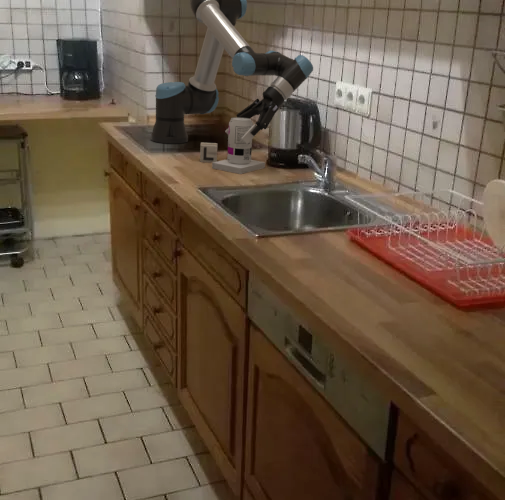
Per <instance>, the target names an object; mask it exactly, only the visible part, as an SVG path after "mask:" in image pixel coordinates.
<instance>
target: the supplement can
mask: <svg viewBox="0 0 505 500" xmlns="http://www.w3.org/2000/svg"><path fill="white" fill-rule="evenodd" d="M253 125H254V123H253V120H252V119H251V118H250V119H249V118H237V117H231V118H230V120H229V122H228V128H229V134H227V137H228V138H227V140H228V141H227V160H228V161H229V162H230V163H233V164H248V163H249V162H250V161H251V160H252V153H253V151H252V148H253V138H252V139H251V140H250V142H249V143H248V144H246V143H245V142H244V141H243V139H242V137H243V136H244V135H245V134H246V133H247V132H248V130H249V129H250V128H251V127H252V126H253Z"/></svg>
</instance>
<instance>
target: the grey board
mask: <svg viewBox="0 0 505 500" xmlns="http://www.w3.org/2000/svg"><path fill="white" fill-rule="evenodd" d="M265 167H266V162H264V161H259V160H255V159H251V161H250V162H249V163H248V164H233V163H230V162H229V161H228V160H227V159H222V160H217V162H213V163H212V164H211V169H212V170H213V169H214V170H219V171H224V172H228V173H234V174H238V175H242V174H246V173H249V172H255V171H258V170H262V169H265Z"/></svg>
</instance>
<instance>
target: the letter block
mask: <svg viewBox="0 0 505 500" xmlns="http://www.w3.org/2000/svg"><path fill="white" fill-rule="evenodd" d="M199 149H200V150H199V152H200V153H199V154H200V155H199V162H200V163H210V164H211V163H213V162H217V161H218V143H216V142H200V148H199Z"/></svg>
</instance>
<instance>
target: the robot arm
mask: <svg viewBox="0 0 505 500" xmlns="http://www.w3.org/2000/svg"><path fill="white" fill-rule="evenodd" d="M189 5H190V9H191V11H192V14H193V15H194V17H195V18H196V20H197V21H198V22H199V23H202V24H204V25H205V26H206V32H205V36H204V39H203V41H202V42H203V43H202V46H201V50H200V54H199V56H198V59H197V60H198V61H197V64H196V69H195V72H194V75H193V76H191V77H189V80H188V83H187V85H186V84H185V83H184V82H183V81H170V82H168V81H167V82H164V83H160V84H158V85H157V86H156V89H155V90H156V91H155V122H154V125H153V128H152V132H151V134H150V140H151V142H156V143H159V144H172V145H173V144H184V143H188V141H189V135H188V133H187V130H186V129H187V128H186V124H185V115H205V114H210V113H212V112H214V111H215V110H216V109H217V107H218V105H219V99H220V97H219V95H220V94H219V91H218V89H217V85H216V83H215V80H216V77H217V74H218V71H219V68H220V64H221V61H222V58H223V53H224V51H225V52H227V54H228V55H229V57H230V58H231V59H232V60H231V66H232V68H233V71H234V73H235V74H236V75H239V76H245V77H249V76H251V77H252V76H274V77H275V76H276V78H275V79H274V80H273V81H272V82H271V83H270V86H267V88H265V90H263V92H262V97H263V98H262V99H261V100H260V99H259V98H255V100H254V101H253V102H252V103H250V104H249V105H248V106H247V107H245V108H244V109H242V110H241V111H240V112H238V113H237V114H236V115H235V116H236V118H249V119H251V118H253V117H255V116H258V119H257V121H255V123H253V126H252V127H251V128H250V129H249V130H248V132H247V133H246V134H245V135H244V136H243V137H242V139H243V141H244V142H245V143H246V144H248V143H249V142H250V140H251V139H252V140H253V139H254V137H255V136H256V135H257V134H258V133H259V132H260V131H262V130H266V129H268V127H269V125H270V123H271V121H272V120H273V118H274V117H275V115H276V113H277V112H278V110H280V109H279V108H280V107H282V105H283V104H284V103H285V101H286V100H288V99H289V98H291V95H293V93H294V92H295V91H296V90H297V89H299V87H300V86H301V85H302V84H303V83H304V82H305V81H306V80H307V79H308V78H309V77H310V75H311V74H312V73H313V71H314V66H313V64H312V62H311V60H310V59H308V58H307V57H306V56H305V55H303V54H299V55H297V56H296V57H294V59H293V58H290V57H289V56H286V55H285V54H283V53H281V52H279V51H275V50H268V51H266V52H265V53H264V52H263V53H262V52H261V53H260V52H255V50H254V49H253V48H252V47H251V46H250V45H249V43H248V42H247V41H246V39H244V38H243V36H242V35H241V33H240V32H239V31H238V30H237V28H236V27H235V26H236V24H237V20H240V19H242V18H244V17H245V15H246V13H247V8H248V1H247V0H190V2H189ZM224 131H225V133H226V134H227V135H228V134H229V127H228V128H226V130H224Z"/></svg>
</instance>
